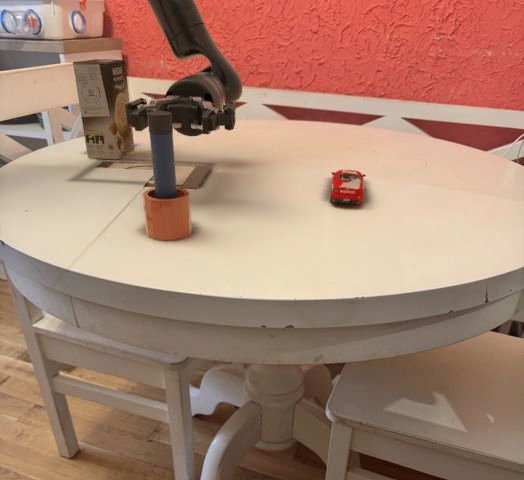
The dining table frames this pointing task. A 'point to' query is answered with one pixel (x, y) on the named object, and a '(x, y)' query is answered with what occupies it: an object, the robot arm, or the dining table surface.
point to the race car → (347, 187)
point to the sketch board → (184, 173)
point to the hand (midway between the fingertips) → (170, 123)
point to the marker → (162, 154)
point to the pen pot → (167, 216)
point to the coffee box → (104, 107)
